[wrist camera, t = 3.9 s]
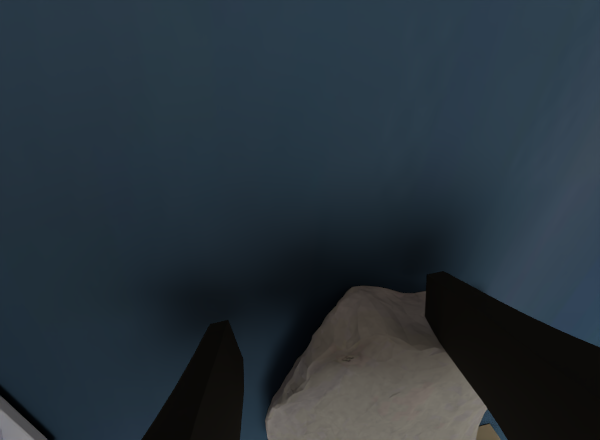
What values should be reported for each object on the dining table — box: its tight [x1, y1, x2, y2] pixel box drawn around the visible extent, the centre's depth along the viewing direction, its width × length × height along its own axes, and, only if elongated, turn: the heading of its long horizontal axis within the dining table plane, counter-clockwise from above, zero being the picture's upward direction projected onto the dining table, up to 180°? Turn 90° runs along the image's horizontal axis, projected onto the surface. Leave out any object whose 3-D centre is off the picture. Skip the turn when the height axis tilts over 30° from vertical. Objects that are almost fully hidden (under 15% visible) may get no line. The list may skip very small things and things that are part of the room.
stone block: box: [265, 286, 487, 440], centre depth 13 cm, size 12×5×10 cm
